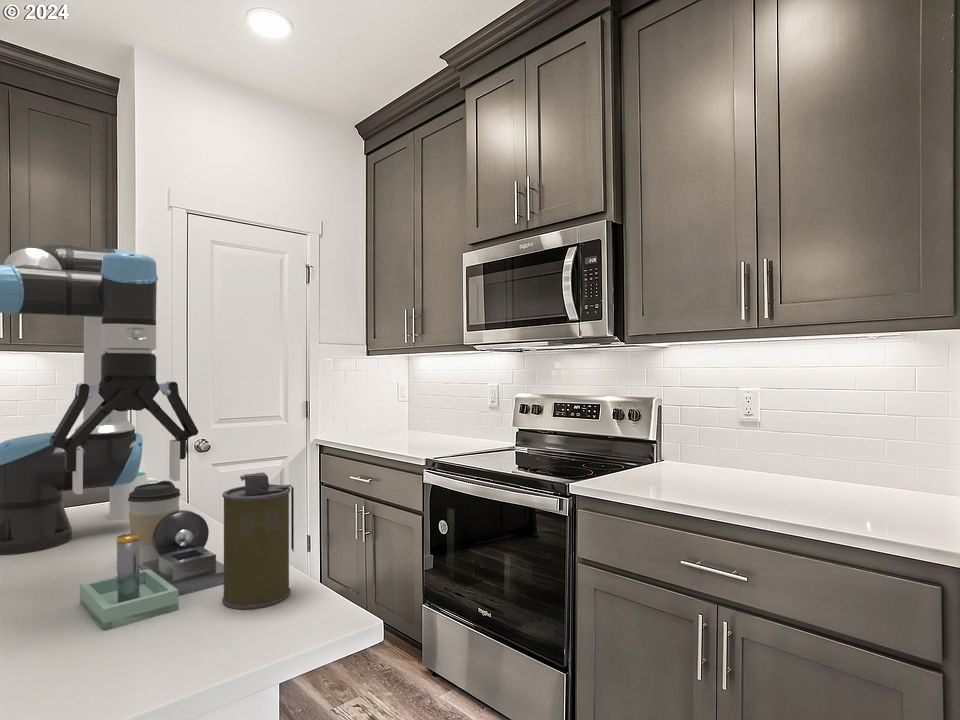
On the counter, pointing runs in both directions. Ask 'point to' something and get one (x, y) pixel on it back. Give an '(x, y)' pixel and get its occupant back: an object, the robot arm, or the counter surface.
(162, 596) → the tray
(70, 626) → the counter surface
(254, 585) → the canister
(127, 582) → the lock pin
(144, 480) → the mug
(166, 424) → the robot arm
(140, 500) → the coffee cup
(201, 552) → the tensioner
